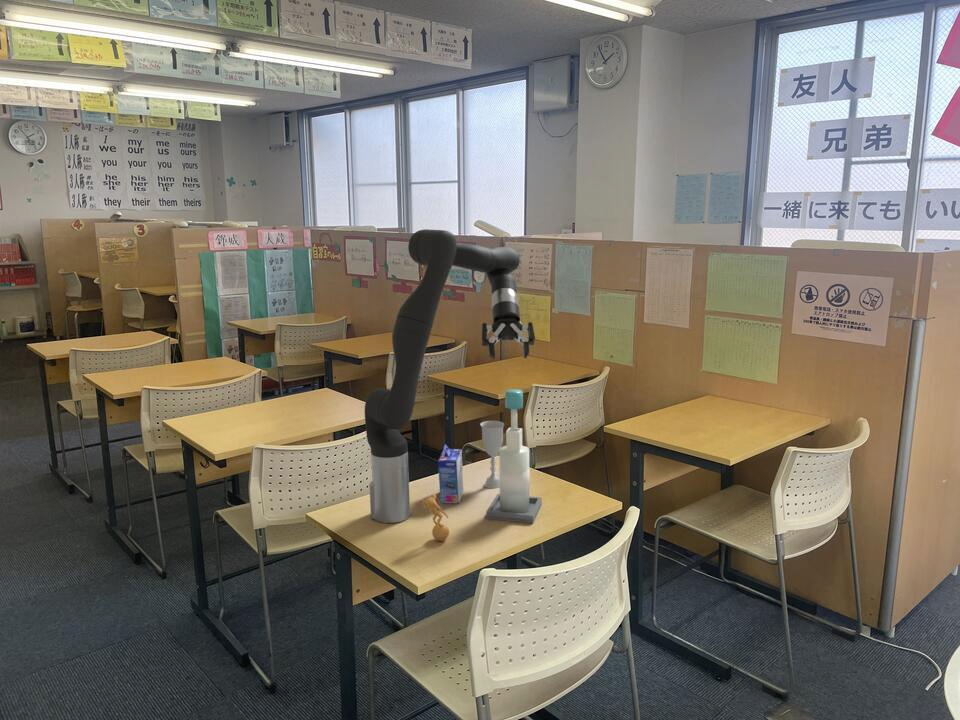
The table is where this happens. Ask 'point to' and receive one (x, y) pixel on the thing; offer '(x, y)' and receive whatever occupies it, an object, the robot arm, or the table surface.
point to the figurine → (439, 530)
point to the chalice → (492, 447)
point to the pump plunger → (514, 404)
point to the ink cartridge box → (450, 475)
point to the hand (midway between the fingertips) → (509, 356)
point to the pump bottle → (514, 483)
